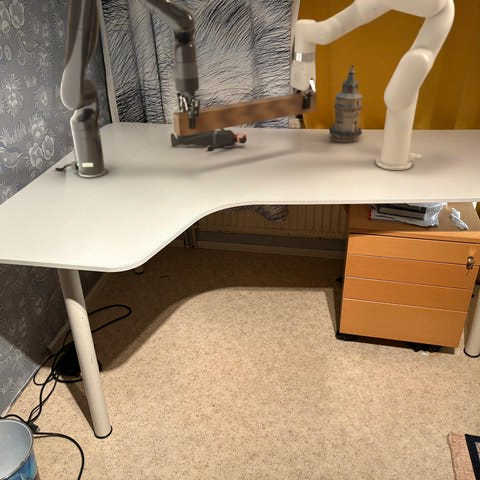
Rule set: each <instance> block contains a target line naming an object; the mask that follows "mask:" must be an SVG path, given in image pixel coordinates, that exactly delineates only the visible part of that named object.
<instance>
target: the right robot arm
mask: <svg viewBox="0 0 480 480" xmlns="http://www.w3.org/2000/svg"><path fill="white" fill-rule="evenodd" d="M392 10H394V11H397V12H400V13H405V14H409V15H412V16H415V17H419V18H420V17H421V18H425V19H424V21H423V24H422V26H421V28H420V29H419V31H418V33H417V35H416V38H415V39H414V41H413V43H412V45H411V47H410V48H409V50H407V51H406V52H405V54H404V55H403V56H402V57H401V58H400V61H399V63H398V65H397V66H396V68H395V71H394V72H393V74H392V77H391V78H390V80H389V82H388V84H387V86H386V88H385V90H384V93H383V102H384V104H385V106H386V112H385V113H386V114H385V121H384V128H383V136H382V137H383V138H382V144H381V153H380V156H378V157H377V158H376V159H375V164H376V165H377V166H378V167H380V168H382V169H385V170H390V171H403V170H407V169H410V168H411V167H412V161H413V160H416V161H418V160H422V154H421V153H415V152H410V147H411V142H412V141H411V140H412V133H413V126H414V122H415V114H416V108H417V103H418V99H419V93H420V89H421V86H422V85H423V83H424V81H425V79H426V77H427V76H428V74H429V73H430V71H431V69H432V68H433V65H434V63H435V60H436V58H437V56H438V54H439V52H440V51H441V49H442V47H443V44H444V43H445V41H446V39H447V37H448V35H449V33H450V32H451V28H452V27H453V23H454V20H455V3H454V0H354V1H353V2H352V3H351V4H350V5H349V6H347V7H346V8H344V9H343V10H341V11H339V12H338V13H336V14H334V15H333V16H331V17H329V18H327V19H325V20H322V21H315V20H314V19H307V18H306V19H298V20H296V22H295V26H294V45H293V46H294V47H293V48H294V49H293V60H292V62H291V63H292V64H291V68H290V69H291V71H290V80H289V81H290V82H289V83H290V87H291V88H292V90H293V94H295V93H301V92H304V99H303V109H304V110H305V109H310V106H311V98H312V96H313V94H314V93H317V89H316V82H317V81H316V80H317V77H316V76H317V75H316V73H317V72H316V71H317V70H316V51H317V50H316V49H317V48H316V47H317V45H321V46H327V45H329V44H330V43H333V42H334V41H337V40H338V39H340V38H342V37H343V36H345V35H347V34H348V33H350V32H352V31H353V30H356V29H358V28H359V27H360V26H363V25H367V24H369V23H370V22H372V21H374V20H375V19H378V18H379V17H381V16H383V15H385V14H386V13H388V12H389V11H392ZM307 91H309V92H308V94H307Z"/></svg>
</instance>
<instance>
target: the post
mask: <svg viewBox="0 0 480 480" xmlns="http://www.w3.org/2000/svg"><path fill="white" fill-rule="evenodd" d="M308 92H309V91H307V94H308ZM303 99H304V91H302V92H301V93H295V94H294V93H289V94H282V95H276V96H271V97H264V98H259V99H252V100H246V101H240V102H233V103H228V104H221V105H216V106H209V107H202V108H200V109H199V117H196V128H195V129H190V128H189V115H188V111H183V112H181V111H179V112H173V113H172V118H173V119H172V120H173V129H174V130H173V132H174V133H173V134H176V136H177V135H179V136H184V135H189V134H195V133H200V132H206V131H211V130H217V131H218V130H220V129H222V128H223V129H228V128H232V127H238V126H243V125H249V124H254V123H261V122H266V121H271V120H276V119H282V118H287V117H293V116H298V115H303V114H309V113H314V112H315V113H316V112H317V99H318V93H317V92H316V93H314V94H313V96H312V98H311V106H310V109H305V110H304V109H303Z"/></svg>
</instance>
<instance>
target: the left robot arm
mask: <svg viewBox="0 0 480 480" xmlns="http://www.w3.org/2000/svg"><path fill="white" fill-rule="evenodd" d="M133 1H134V2H135V3H136V4H138V5H139V6H140V7H141V8H143V9H144V10H146V11H148V12H149V13H151V14H152V15H154V16H155V17H157V18H158V19H159V20H161V21H162V22H163V23H164V24H165V25H167V26H168V27H169V28H170V29H172V30H173V37H174V43H173V44H174V45H173V55H174V79H175V81H174V82H175V90H176V91H177V92H176V98H177V105H178V110H179V112H183V111H188V115H189V128H190V129H195V128H196V117H199V109H201V101H200V99H197V97H196V92H197V91H199V89H200V84H199V83H200V82H199V66H198V61H197V60H198V59H197V58H198V57H197V46H196V20H195V15H194V13H193V11H192V10H190V9H189V8H188V7H182V6H181V5H180V4H178V3H176V2H175V1H174V0H133ZM99 13H100V12H99V6H98V0H69V7H68V17H67V29H66V34H67V35H66V49H65V59H64V68H63V73H62V78H61V84H60V99H61V101H62V103H63V105H64V106H65V107H66V108H67V109H68V110H72V111H74V114H73V115H72V116H71V118H70V120H69V121H70V123H69V124H70V128H71V134H72V139H73V145H74V147H73V148H72V151H73V157H74V161H71V162H70V163H67V164H65V165H64V166H63V167H54V168H55V171H60V172H61V171H64V170H66V168H68V167H71V170H73V171H76V174H78V175H79V177H82V178H87V179H88V178H90V179H91V178H97V177H100V176H103V175H105V174H106V172H107V171H106V165H105V158H104V151H103V145H102V137H101V130H100V124H99V120H100V103H99V94H98V90H97V87H96V85H95V83H94V82H93V80H91V79H90V78H88V77H86V71H87V68H88V66H89V64H90V61H91V59H92V57H93V55H94V53H95V51H96V48H97V44H98V40H99V29H100V14H99Z"/></svg>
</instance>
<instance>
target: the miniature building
mask: <svg viewBox="0 0 480 480" xmlns="http://www.w3.org/2000/svg"><path fill="white" fill-rule="evenodd" d="M350 66H351V67H350V69H348V75H347V77H346V79H345V81H342V88H341V91H339V92H336V93H335V101H334V102H333V104H334V124H332V126H331V125H329V126H328V128H329V129H328V131H329V135H331V137H332V141H334V142H338V143H354V142H356V141H357V139H358V138H359V137H360V136H361V135H363V130H362V127H361V125H360V126H359V121H360V116H361V110H362V108H363V103H362V99H363V95H362V94H361V93H360V92H358V87H359V85H360V83H359V81H356V77H355V73H356V71H355V69H354V66H355V64H352V63H351V65H350Z"/></svg>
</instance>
